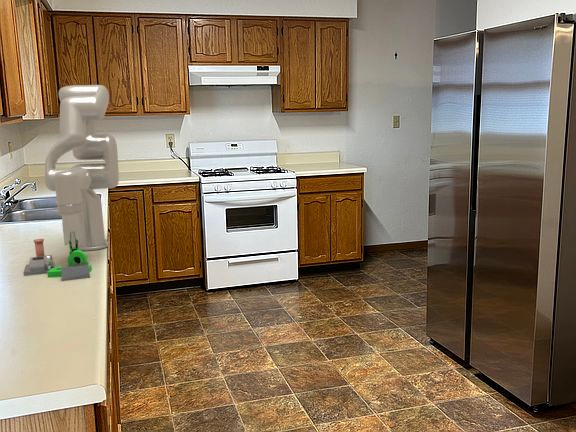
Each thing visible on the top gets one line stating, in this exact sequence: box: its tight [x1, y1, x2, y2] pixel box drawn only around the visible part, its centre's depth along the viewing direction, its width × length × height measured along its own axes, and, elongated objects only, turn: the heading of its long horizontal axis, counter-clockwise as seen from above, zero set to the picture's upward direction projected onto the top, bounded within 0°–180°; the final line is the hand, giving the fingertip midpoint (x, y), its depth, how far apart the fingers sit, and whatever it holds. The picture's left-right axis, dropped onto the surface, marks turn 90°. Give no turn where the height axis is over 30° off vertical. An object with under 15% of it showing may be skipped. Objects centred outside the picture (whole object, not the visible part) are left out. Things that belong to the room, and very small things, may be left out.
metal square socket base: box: [23, 254, 56, 277], centre depth 186 cm, size 10×9×5 cm
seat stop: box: [60, 262, 91, 282], centre depth 176 cm, size 3×8×4 cm, turn 110°
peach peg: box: [32, 238, 46, 257], centre depth 193 cm, size 3×3×9 cm
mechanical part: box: [46, 250, 93, 279], centre depth 181 cm, size 12×6×8 cm, turn 95°
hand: (75, 263), depth 190 cm, fingers closed
